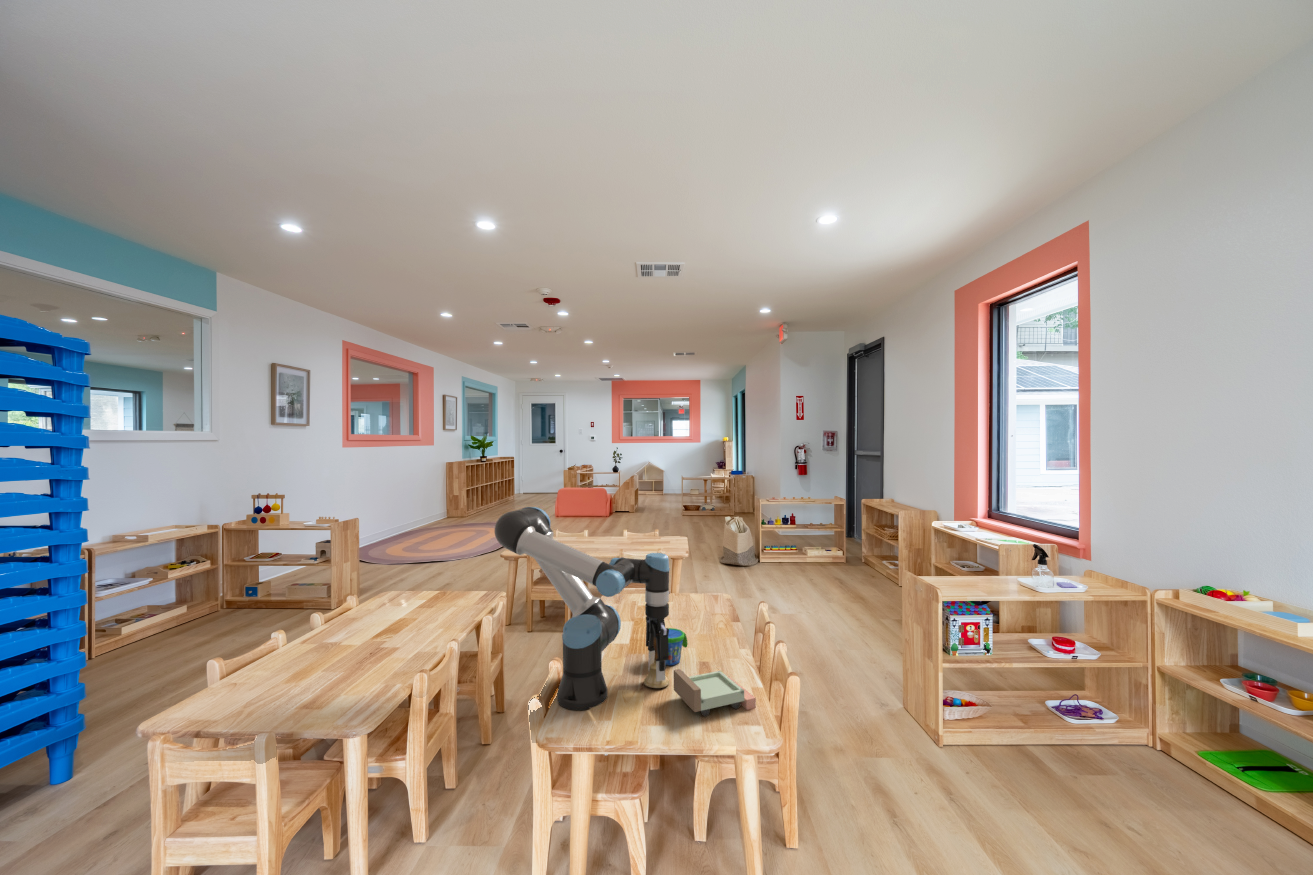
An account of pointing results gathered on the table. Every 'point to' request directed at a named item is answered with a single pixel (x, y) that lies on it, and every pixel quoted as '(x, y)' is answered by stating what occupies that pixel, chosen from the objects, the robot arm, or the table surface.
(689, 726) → the table surface
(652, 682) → the hand bell
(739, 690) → the pale green tray
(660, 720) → the table surface
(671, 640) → the snack cup
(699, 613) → the table surface
